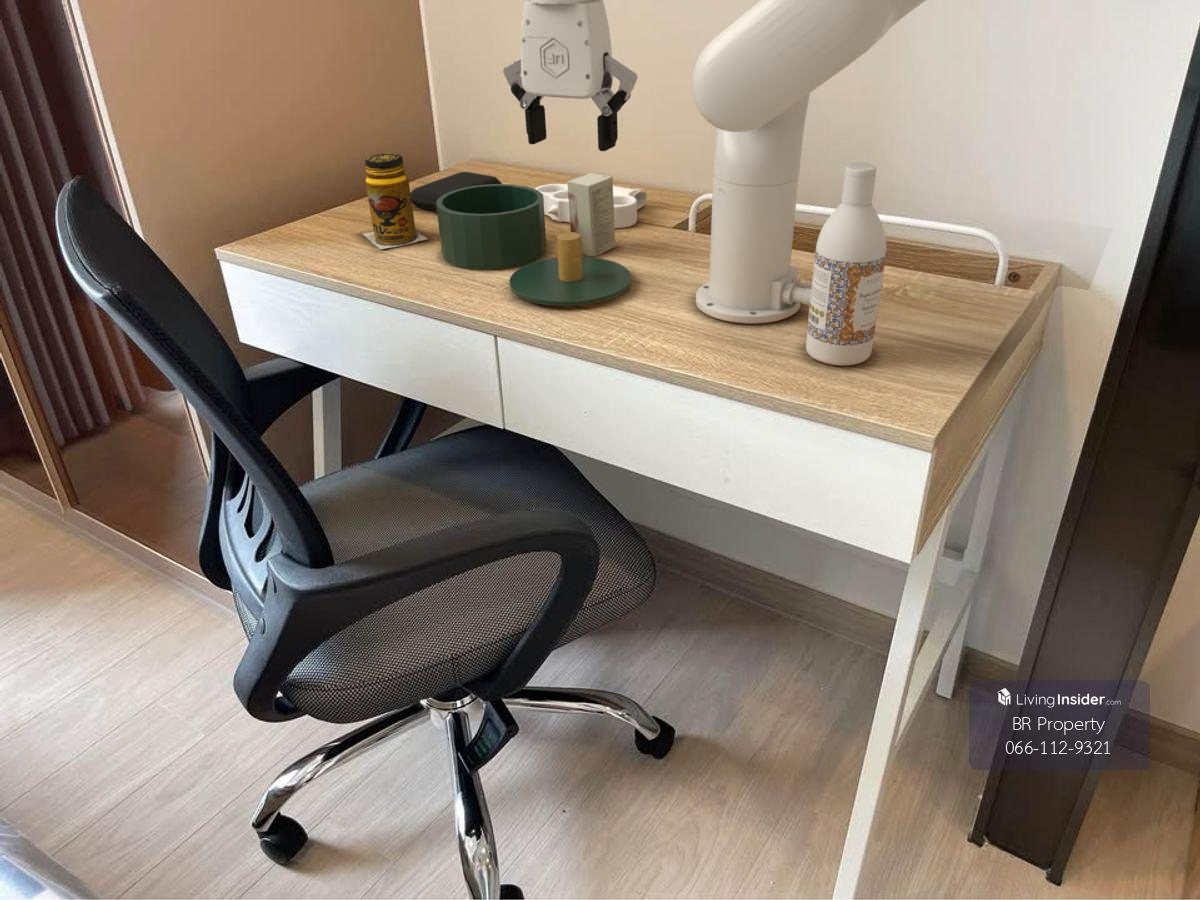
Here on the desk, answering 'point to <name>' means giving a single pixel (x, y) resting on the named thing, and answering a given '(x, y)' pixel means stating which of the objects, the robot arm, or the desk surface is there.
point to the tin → (492, 226)
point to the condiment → (389, 202)
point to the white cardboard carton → (592, 212)
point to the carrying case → (447, 188)
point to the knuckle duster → (623, 199)
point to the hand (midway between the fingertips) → (571, 145)
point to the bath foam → (847, 275)
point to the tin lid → (570, 277)
